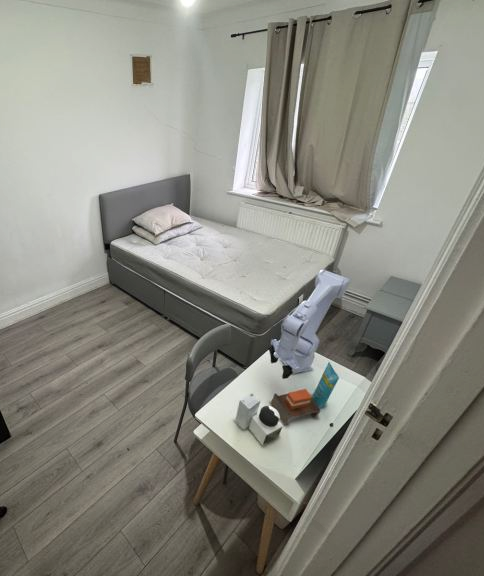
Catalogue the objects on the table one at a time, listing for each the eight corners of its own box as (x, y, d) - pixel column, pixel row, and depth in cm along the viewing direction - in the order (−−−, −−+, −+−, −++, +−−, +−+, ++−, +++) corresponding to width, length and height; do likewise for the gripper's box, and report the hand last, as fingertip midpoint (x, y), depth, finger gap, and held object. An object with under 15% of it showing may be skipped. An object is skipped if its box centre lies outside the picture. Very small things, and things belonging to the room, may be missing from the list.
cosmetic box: (243, 430, 106) (249, 410, 99) (234, 420, 109) (239, 400, 102) (255, 421, 109) (261, 401, 102) (245, 412, 112) (251, 391, 105)
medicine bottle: (262, 446, 101) (270, 426, 94) (248, 428, 107) (254, 408, 100) (278, 437, 104) (287, 417, 97) (263, 420, 109) (270, 400, 102)
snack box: (301, 397, 111) (305, 388, 108) (308, 405, 108) (312, 397, 105) (284, 400, 110) (288, 392, 107) (290, 409, 107) (294, 401, 104)
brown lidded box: (301, 396, 116) (305, 387, 113) (317, 417, 109) (322, 407, 106) (270, 403, 114) (274, 393, 111) (284, 425, 107) (288, 415, 104)
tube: (306, 394, 117) (321, 360, 106) (319, 393, 117) (335, 360, 106) (316, 411, 111) (333, 377, 100) (329, 410, 111) (347, 377, 100)
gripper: (266, 332, 112) (259, 357, 120) (289, 361, 100) (280, 387, 108) (283, 329, 113) (275, 354, 121) (308, 358, 101) (298, 383, 109)
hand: (279, 369), depth 115 cm, fingers open, 7 cm apart
